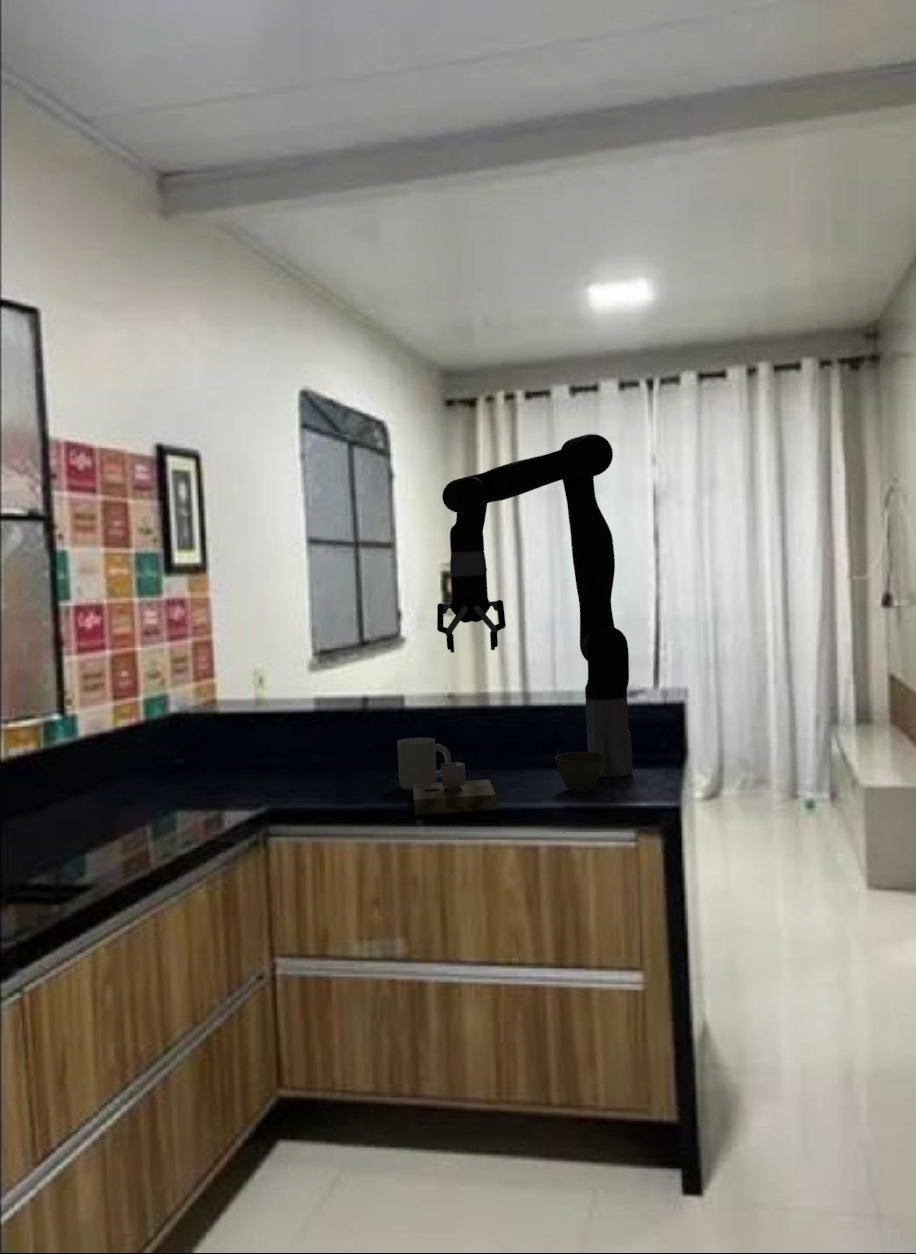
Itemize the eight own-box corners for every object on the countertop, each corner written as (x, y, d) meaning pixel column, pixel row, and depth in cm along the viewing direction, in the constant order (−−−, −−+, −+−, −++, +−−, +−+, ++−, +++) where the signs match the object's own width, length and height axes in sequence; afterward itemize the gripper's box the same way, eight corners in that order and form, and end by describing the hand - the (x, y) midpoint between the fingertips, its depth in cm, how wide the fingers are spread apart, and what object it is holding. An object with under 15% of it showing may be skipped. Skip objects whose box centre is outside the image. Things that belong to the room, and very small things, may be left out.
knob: (465, 800, 225) (463, 760, 224) (467, 805, 220) (465, 764, 219) (442, 802, 224) (440, 762, 224) (443, 807, 219) (441, 766, 219)
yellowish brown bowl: (549, 793, 227) (547, 759, 227) (567, 784, 236) (566, 751, 236) (594, 796, 223) (593, 761, 222) (611, 786, 231) (610, 752, 231)
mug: (446, 779, 248) (444, 734, 248) (458, 786, 241) (455, 739, 240) (395, 785, 245) (392, 739, 244) (405, 792, 237) (402, 744, 236)
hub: (489, 793, 230) (488, 778, 230) (496, 809, 214) (495, 793, 214) (413, 798, 230) (412, 782, 229) (414, 815, 214) (413, 798, 213)
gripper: (500, 572, 233) (504, 648, 234) (434, 575, 232) (438, 651, 233) (504, 572, 226) (508, 650, 226) (435, 575, 225) (439, 654, 226)
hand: (472, 651), depth 230 cm, fingers open, 8 cm apart
